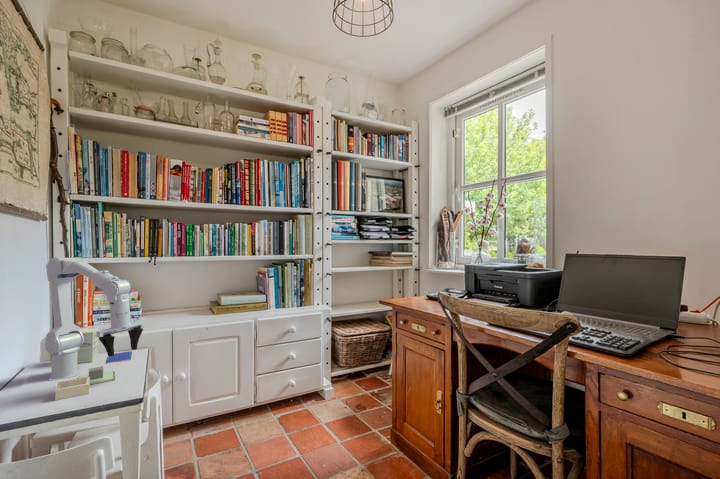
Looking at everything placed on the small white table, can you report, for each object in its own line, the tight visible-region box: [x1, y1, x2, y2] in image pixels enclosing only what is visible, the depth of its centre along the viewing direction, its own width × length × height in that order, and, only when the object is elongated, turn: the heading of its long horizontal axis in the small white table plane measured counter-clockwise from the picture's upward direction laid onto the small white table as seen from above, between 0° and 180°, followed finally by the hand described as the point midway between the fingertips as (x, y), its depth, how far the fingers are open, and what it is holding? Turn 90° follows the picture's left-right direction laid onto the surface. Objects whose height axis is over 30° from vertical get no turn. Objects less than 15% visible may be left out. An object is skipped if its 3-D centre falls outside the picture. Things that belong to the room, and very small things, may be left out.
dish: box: [55, 377, 91, 401], centre depth 109 cm, size 8×8×4 cm
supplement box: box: [77, 328, 99, 364], centre depth 142 cm, size 7×7×13 cm
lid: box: [77, 365, 114, 386], centre depth 120 cm, size 10×10×4 cm
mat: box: [76, 370, 116, 386], centre depth 120 cm, size 11×11×1 cm
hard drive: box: [106, 350, 133, 364], centre depth 144 cm, size 2×8×12 cm
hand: (122, 352), depth 118 cm, fingers open, 7 cm apart
